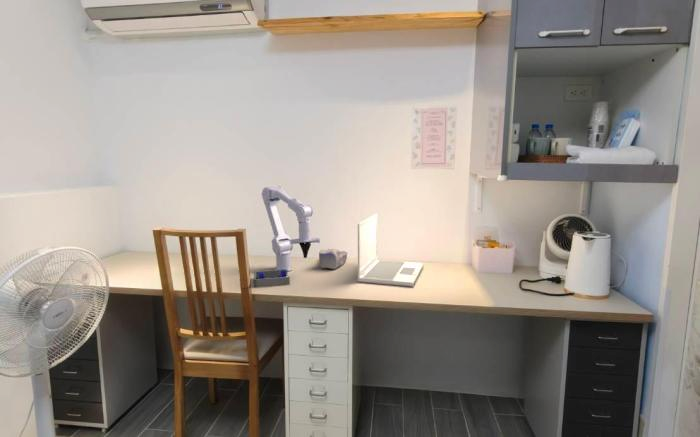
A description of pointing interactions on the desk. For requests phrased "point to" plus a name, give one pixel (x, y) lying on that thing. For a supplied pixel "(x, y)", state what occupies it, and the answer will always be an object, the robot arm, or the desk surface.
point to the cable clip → (283, 274)
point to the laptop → (381, 269)
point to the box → (268, 280)
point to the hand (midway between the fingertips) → (305, 257)
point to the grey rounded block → (332, 258)
